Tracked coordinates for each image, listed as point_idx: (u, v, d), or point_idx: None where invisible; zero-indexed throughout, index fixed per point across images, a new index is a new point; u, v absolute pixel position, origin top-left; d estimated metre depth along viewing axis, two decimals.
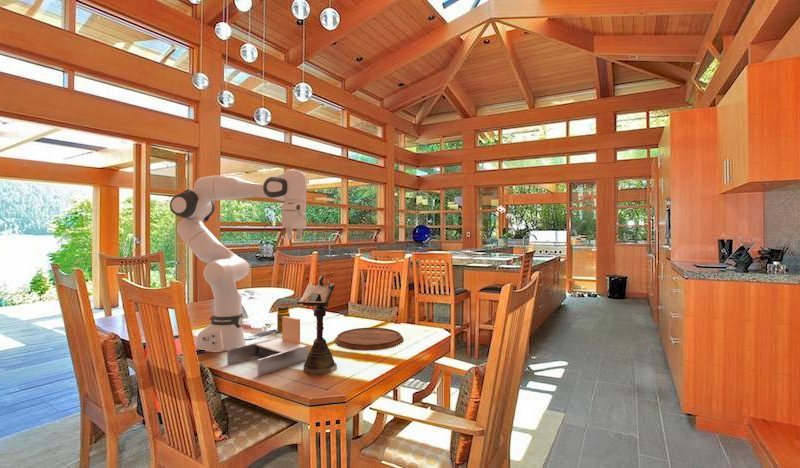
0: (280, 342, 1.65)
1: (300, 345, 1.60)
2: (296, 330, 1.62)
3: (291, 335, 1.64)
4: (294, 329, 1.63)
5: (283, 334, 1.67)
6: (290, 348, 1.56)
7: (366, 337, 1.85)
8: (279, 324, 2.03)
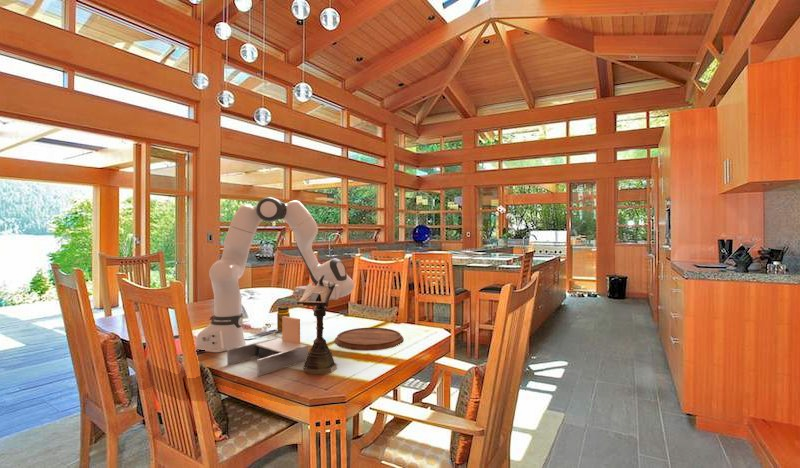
0: (280, 342, 1.65)
1: (300, 345, 1.60)
2: (296, 330, 1.62)
3: (291, 335, 1.64)
4: (294, 329, 1.63)
5: (283, 334, 1.67)
6: (290, 348, 1.56)
7: (366, 337, 1.85)
8: (279, 324, 2.03)
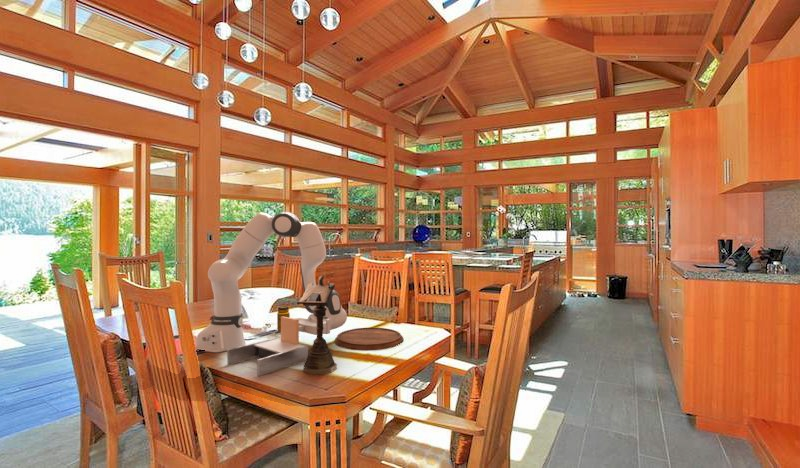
0: (279, 342, 1.64)
1: (299, 345, 1.60)
2: (294, 331, 1.61)
3: (290, 336, 1.63)
4: (292, 329, 1.62)
5: (282, 334, 1.66)
6: (289, 348, 1.56)
7: (366, 337, 1.85)
8: (279, 324, 2.03)
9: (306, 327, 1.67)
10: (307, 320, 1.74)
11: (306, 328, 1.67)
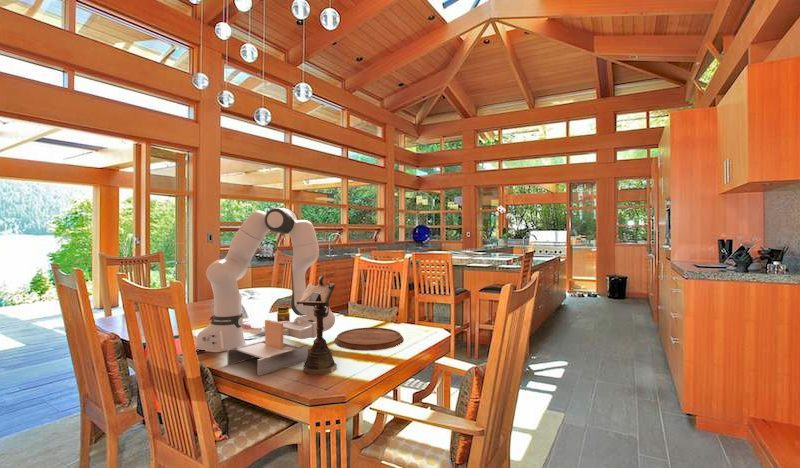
0: (262, 347, 1.58)
1: (283, 350, 1.54)
2: (279, 335, 1.55)
3: (274, 340, 1.57)
4: (277, 333, 1.56)
5: (266, 338, 1.60)
6: (272, 353, 1.50)
7: (366, 337, 1.85)
8: None
9: (291, 331, 1.61)
10: (293, 323, 1.68)
11: (291, 332, 1.61)
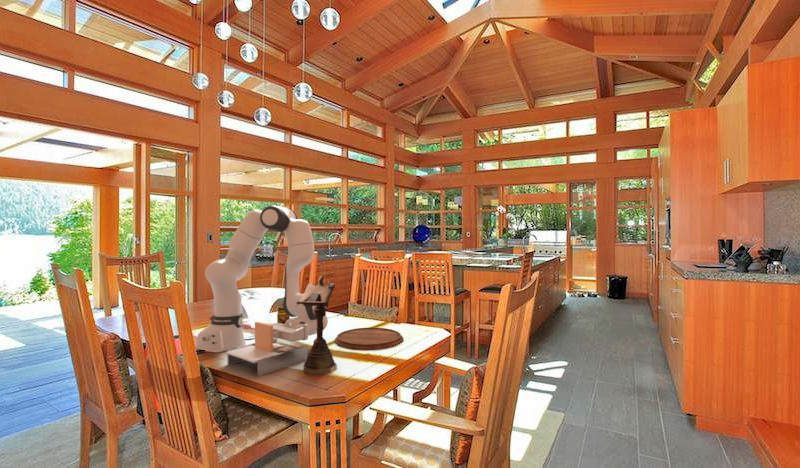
0: (252, 350, 1.54)
1: (273, 353, 1.50)
2: (268, 337, 1.52)
3: (264, 343, 1.54)
4: (266, 336, 1.53)
5: (256, 341, 1.57)
6: (261, 356, 1.46)
7: (366, 337, 1.85)
8: None
9: (282, 333, 1.58)
10: (284, 325, 1.64)
11: (282, 334, 1.58)
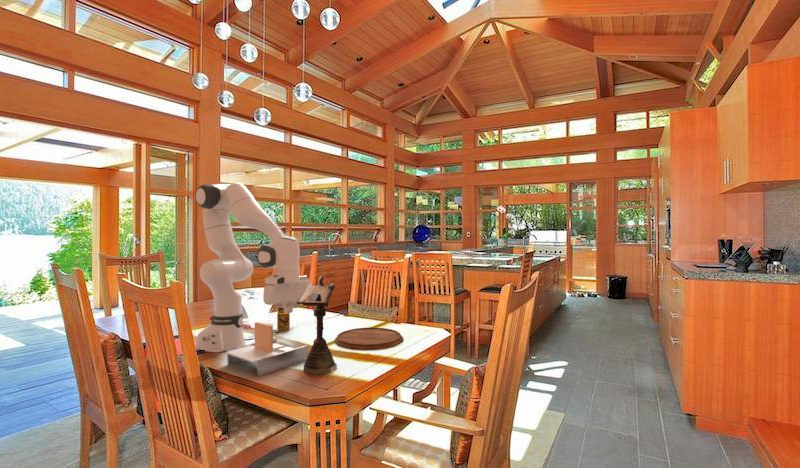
0: (252, 350, 1.54)
1: (272, 353, 1.50)
2: (268, 337, 1.52)
3: (264, 343, 1.53)
4: (266, 336, 1.52)
5: (256, 341, 1.57)
6: (261, 357, 1.46)
7: (366, 337, 1.85)
8: (279, 324, 2.03)
9: None
10: None
11: None
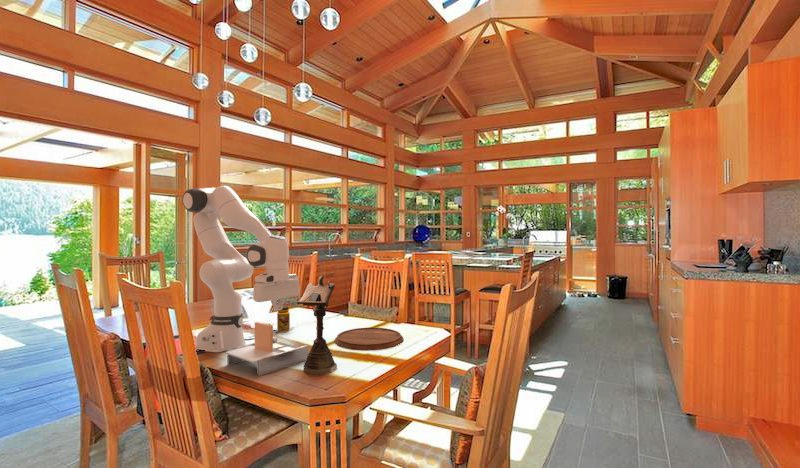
0: (252, 350, 1.54)
1: (272, 353, 1.50)
2: (268, 337, 1.52)
3: (264, 343, 1.53)
4: (266, 336, 1.52)
5: (256, 341, 1.57)
6: (261, 357, 1.46)
7: (366, 337, 1.85)
8: (279, 324, 2.03)
9: None
10: None
11: None
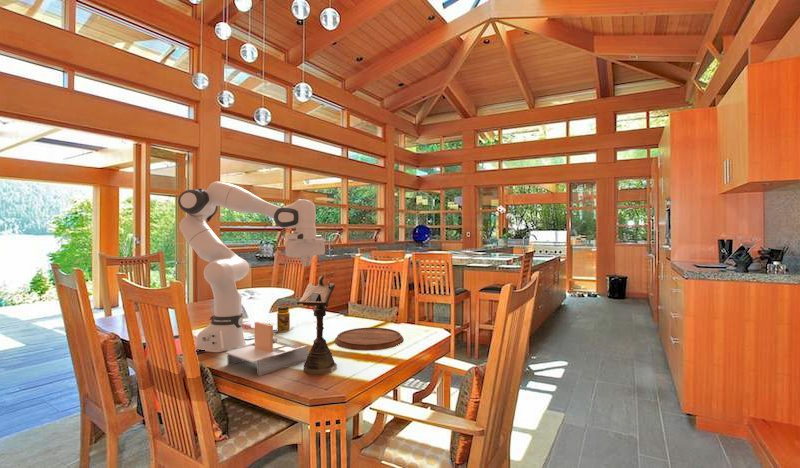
0: (252, 350, 1.54)
1: (272, 353, 1.50)
2: (268, 337, 1.52)
3: (264, 343, 1.53)
4: (266, 336, 1.52)
5: (256, 341, 1.57)
6: (261, 357, 1.46)
7: (366, 337, 1.85)
8: (279, 324, 2.03)
9: None
10: None
11: None
